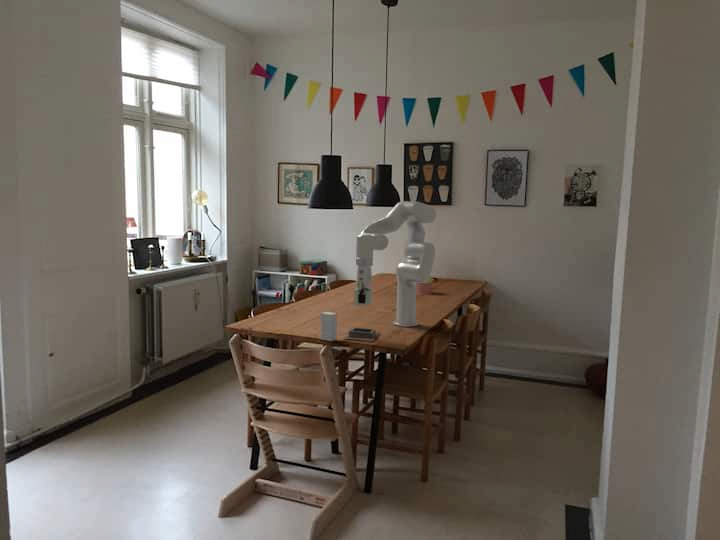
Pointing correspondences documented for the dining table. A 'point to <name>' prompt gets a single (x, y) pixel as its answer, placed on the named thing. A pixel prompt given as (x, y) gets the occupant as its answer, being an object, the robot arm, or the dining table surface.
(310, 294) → the dining table surface
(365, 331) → the keyed holder
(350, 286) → the dining table surface
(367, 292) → the key block
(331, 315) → the skincare box
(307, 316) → the dining table surface
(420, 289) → the canned food
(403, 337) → the dining table surface
